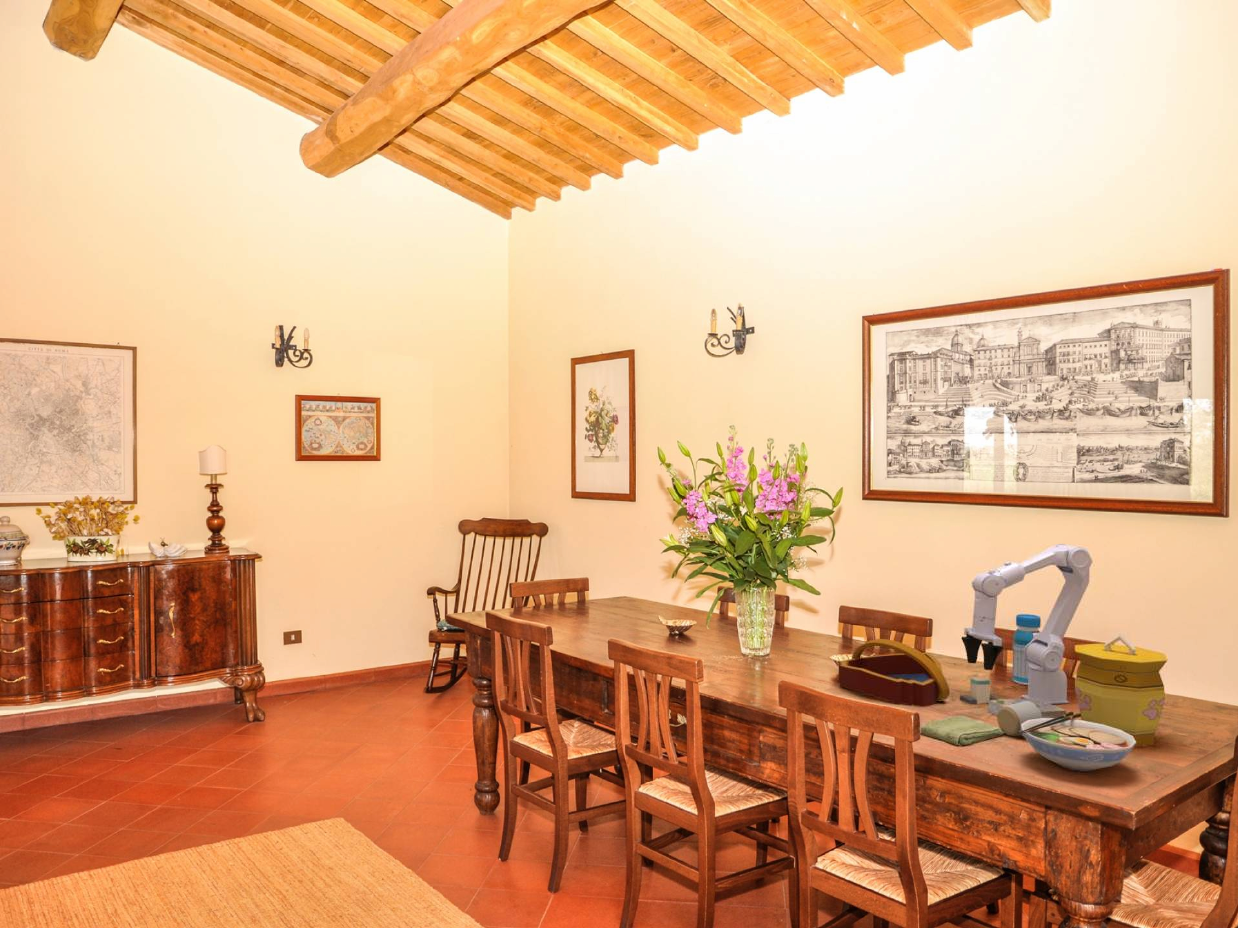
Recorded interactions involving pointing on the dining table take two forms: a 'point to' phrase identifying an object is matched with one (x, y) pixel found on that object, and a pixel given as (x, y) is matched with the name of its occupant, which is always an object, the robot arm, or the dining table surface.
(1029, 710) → the grey cylinder
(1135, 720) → the container
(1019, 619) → the beverage bottle
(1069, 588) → the robot arm
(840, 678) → the decorative basket
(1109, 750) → the ramen bowl
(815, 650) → the dining table surface
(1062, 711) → the port
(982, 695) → the small white carton
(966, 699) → the pair of dark blocks
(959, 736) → the washcloth
